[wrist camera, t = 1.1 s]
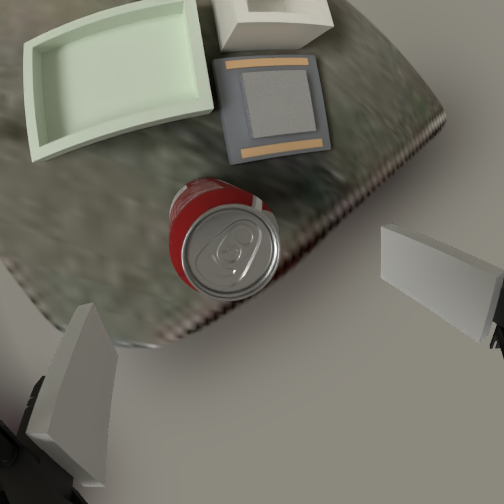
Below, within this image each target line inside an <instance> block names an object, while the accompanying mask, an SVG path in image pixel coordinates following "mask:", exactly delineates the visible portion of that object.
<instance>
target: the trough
mask: <svg viewBox="0 0 504 504" xmlns="http://www.w3.org/2000/svg"><path fill="white" fill-rule="evenodd" d="M23 80H24V101H25V114H26V124H27V132H28V140H29V146H30V153H31V159H32V162H42V161H47V160H50V159H52V158H55V157H57V156H60V155H62V154H65V153H67V152H70V151H73V150H76V149H78V148H81V147H84V146H87V145H90V144H93V143H96V142H99V141H102V140H105V139H108V138H111V137H114V136H118V135H121V134H125V133H128V132H132V131H135V130H139V129H143V128H147V127H151V126H155V125H159V124H163V123H167V122H172V121H176V120H181V119H186V118H191V117H196V116H201V115H207V114H210V113H211V111H212V110H213V109H214V106H213V100H212V94H211V89H210V83H209V77H208V71H207V66H206V60H205V54H204V48H203V42H202V36H201V30H200V24H199V18H198V12H197V6H196V0H143V1H138V2H134V3H130V4H126V5H122V6H118V7H114V8H111V9H108V10H104V11H101V12H98V13H95V14H92V15H89V16H86V17H83V18H80V19H78V20H75V21H72V22H70V23H67V24H65V25H62V26H60V27H57V28H55V29H53V30H51V31H48V32H46V33H44V34H42V35H40V36H38V37H36V38H34V39H32V40H30V41H28V42H26V43H24V55H23Z"/></svg>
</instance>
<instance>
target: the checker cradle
mask: <svg viewBox="0 0 504 504" xmlns="http://www.w3.org/2000/svg"><path fill="white" fill-rule="evenodd" d="M211 64H212V70H213V75H214V81H215V87H216V92H217V98H218V104H219V109H220V115H221V121H222V126H223V132H224V137H225V143H226V149H227V154H228V160H229V164H230V165H234V164H239V163H244V162H250V161H255V160H261V159H267V158H273V157H279V156H286V155H293V154H300V153H307V152H315V151H323V150H331V145H330V138H329V131H328V124H327V118H326V112H325V106H324V100H323V94H322V89H321V83H320V78H319V73H318V68H317V63H316V59H315V55H258V56H242V57H231V58H221V59H213V61H212V63H211ZM280 70H306V75H307V80H308V85H309V91H310V96H311V102H312V108H313V114H314V120H315V126H316V131H309V132H300V133H291V134H282V135H275V136H267V137H260V138H254V139H251V138H250V133H249V127H248V121H247V115H246V110H245V104H244V99H243V93H242V87H241V82H240V75H241V74H242V73H248V72H261V71H280Z"/></svg>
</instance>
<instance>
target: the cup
mask: <svg viewBox="0 0 504 504" xmlns="http://www.w3.org/2000/svg"><path fill="white" fill-rule="evenodd" d="M211 4H212V9H213V15H214V20H215V26H216V31H217V37H218V42H219V48H220V53H226V52H237V51H252V50H299V49H301V48H302V47H303V46H305V45H306V44H308V43H309V42H311V41H312V40H314V39H315V38H317V37H318V36H320V35H321V34H323V33H324V32H326V31H328V30H329V29H331V28H332V27H334V24H333V21H332V17H331V14H330V10H329V7H328V3H327V0H211Z"/></svg>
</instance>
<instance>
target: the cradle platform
mask: <svg viewBox="0 0 504 504" xmlns="http://www.w3.org/2000/svg"><path fill="white" fill-rule="evenodd" d="M240 82H241V87H242V93H243V99H244V104H245V110H246V115H247V121H248V127H249V133H250V138H251V139H254V138H260V137H267V136H275V135H282V134H291V133H300V132H309V131H316V126H315V120H314V114H313V108H312V102H311V96H310V91H309V85H308V80H307V75H306V70H280V71H261V72H248V73H242V74H241V75H240Z"/></svg>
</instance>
